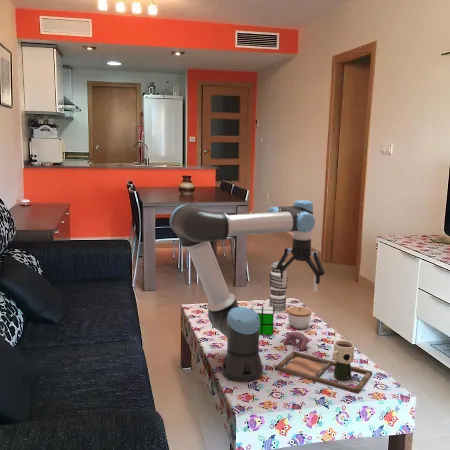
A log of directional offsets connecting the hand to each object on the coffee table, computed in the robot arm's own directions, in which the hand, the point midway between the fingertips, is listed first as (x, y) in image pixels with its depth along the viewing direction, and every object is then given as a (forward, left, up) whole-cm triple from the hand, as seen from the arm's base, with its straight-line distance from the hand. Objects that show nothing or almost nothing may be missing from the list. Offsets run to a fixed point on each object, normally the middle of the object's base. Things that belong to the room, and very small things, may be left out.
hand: (299, 288), depth 204 cm
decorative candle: (+33, +26, -25) cm, 49 cm away
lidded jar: (+19, +8, -25) cm, 32 cm away
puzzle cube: (+5, +20, -25) cm, 32 cm away
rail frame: (-18, -18, -25) cm, 35 cm away
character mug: (-18, -26, -25) cm, 40 cm away
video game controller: (-2, 0, -25) cm, 25 cm away
